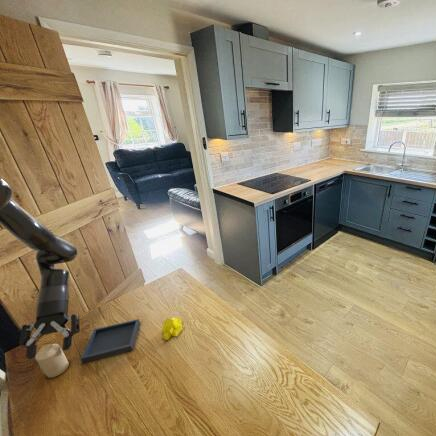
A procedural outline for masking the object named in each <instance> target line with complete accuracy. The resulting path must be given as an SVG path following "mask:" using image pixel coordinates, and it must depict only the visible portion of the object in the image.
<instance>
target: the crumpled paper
mask: <svg viewBox="0 0 436 436" xmlns="http://www.w3.org/2000/svg"><path fill="white" fill-rule="evenodd" d="M183 329H184V327H183V324H182V319H181V318H179V317H176V318H166V319H165V320H164V322H163V325H162V327H161V330H160V331H161V332H162V334H163V335H162V337H163V340H166V341H168V340H169V339H170V338H171V337H172V336H173V337H177V336H178V335H179V334H181V332H182V330H183Z"/></svg>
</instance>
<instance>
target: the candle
mask: <svg viewBox="0 0 436 436" xmlns="http://www.w3.org/2000/svg"><path fill="white" fill-rule="evenodd" d="M34 359H35V361H36V362H37V364H38V365H39V367H40V369H41V370H42V372H43V373H44V374H45V376H46V377H47V378H48V379H49V378H56V377H58V376H60V375H61V374H63V373H64V372H65V371H66V370H67V369H68V368H69V366H70V364H69V361H68V359H67V357H66V355H65V353H64V351H63V349H62V348H61V346H60V344H58V343H51V344H46V345H43V346H41V348H40V349H39V350H37V352H36V356H35V358H34Z"/></svg>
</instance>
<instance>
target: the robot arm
mask: <svg viewBox="0 0 436 436" xmlns="http://www.w3.org/2000/svg"><path fill="white" fill-rule="evenodd" d="M12 197H13V189H12V188H11V186H10V185H9V184H8V183H7V182H6V181H5V180H3V179H2V178H0V225H1V226H2V227H3V228H4V229H6V230H7V232H9V233H10V234H11V235H12V236H13V237H15V238H16V239H17V240H18V241H19V242H20V243H22V244H23V245H25V246H26V247H27V248H29V249H30V250H33V251H36V253H35V261H36V264H37V266H38V271H39V275H40V282H39V283H40V284H39V291H38V295H37V301H36V311H35V312H36V313H35V320H36V321H35V322H34V323H30V324H29V323H28V324H23V325H22V326H21V331H20V335H19V340H18V345H19V346H25V347H26V353H25V356H26V358H27V359H28V360H31V359H35V356H36V354H37V350H38V349H37V347H38V344H37V343H38V342H39V341H40V340H41V339H42V338H43V337H44V336H46V335H50V334H55V333H60V334H61V335H62V336H63V339H62V351H63V352H64V351H68V350H70V348H71V347H72V342H73V341H72V339H73V336H75V335H76V334H78V333H80V331H81V328H80V327H81V325H80V324H81V322H80V320H81V319H80V314H77V313H76V314H75V313H74V314H72V315H68V314H69V304H70V303H69V302H70V284H69V283H70V271H69V270H68V269H64V268H56V266H55V265H59V264H65V263H69V262H73V261H74V260H75V259H76V258H77V257H78V249H77V246H76V245H75V244H74V243H73V242H71V241H69V240H67V239H65V238H64V237H62V236H59V235H57V234H54V233H53V232H52V231H51V230H50V229H49V228H48V227H47V226H46V225H45V224H43V223H42V222H41V221H40V220H39V219H37V218H36V217H34V216H33V215H32V214H31V213H29V212H28V211H27V210H25V208H23V207H22V206H20V204H19V203H17V202H16V201H15V200H14V199H13V198H12ZM68 321H69V323H70V327H69V326H68V325H66V324H67V323H68ZM34 329H35V331H34V333H33V334H32V331H33V330H34Z"/></svg>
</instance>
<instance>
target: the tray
mask: <svg viewBox="0 0 436 436" xmlns="http://www.w3.org/2000/svg"><path fill="white" fill-rule="evenodd" d="M140 325H141V322H140V319H139V318H137V319H133V320H128V321H124V322H119V323H115V324H111V325H106V326H102V327H98V328H94V329H93V331H92V333H91V335H90V338H89V339H88V342H87V344H86V346H85V348H84V350H83V352H82V355H81V356H80V361H81V363H82V364H86V363H89V362H93V361H98V360H101V359H105V358H109V357H113V356H116V355H120V354H124V353H128V352H132V351H133V350H134V347H135V345H136V344H135V343H136V339H137V336H138V331H139V328H140Z"/></svg>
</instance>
